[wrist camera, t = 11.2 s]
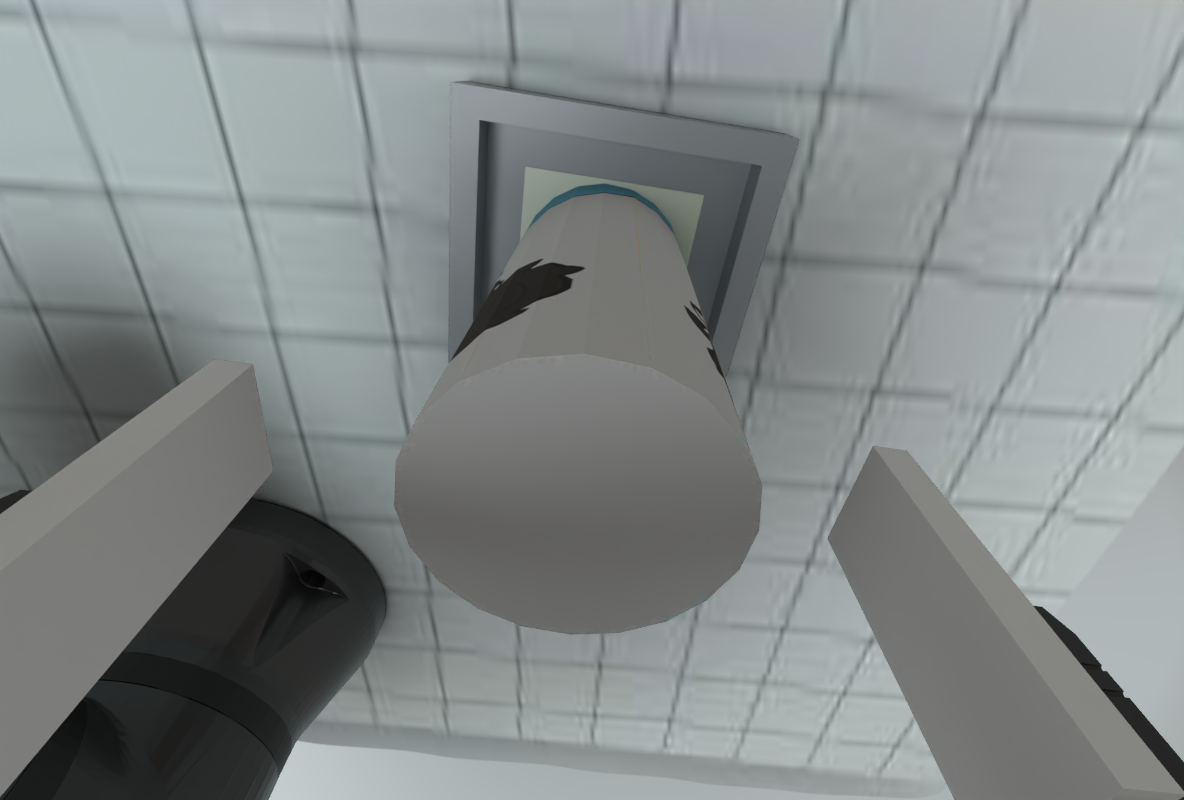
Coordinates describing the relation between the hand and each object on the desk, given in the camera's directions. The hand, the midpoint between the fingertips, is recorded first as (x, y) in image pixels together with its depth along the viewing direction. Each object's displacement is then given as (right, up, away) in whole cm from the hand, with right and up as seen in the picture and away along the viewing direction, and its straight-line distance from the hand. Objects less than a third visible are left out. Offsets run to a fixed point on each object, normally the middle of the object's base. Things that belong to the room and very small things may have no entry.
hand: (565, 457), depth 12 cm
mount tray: (+1, +7, +12) cm, 14 cm away
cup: (+1, +7, +11) cm, 13 cm away
